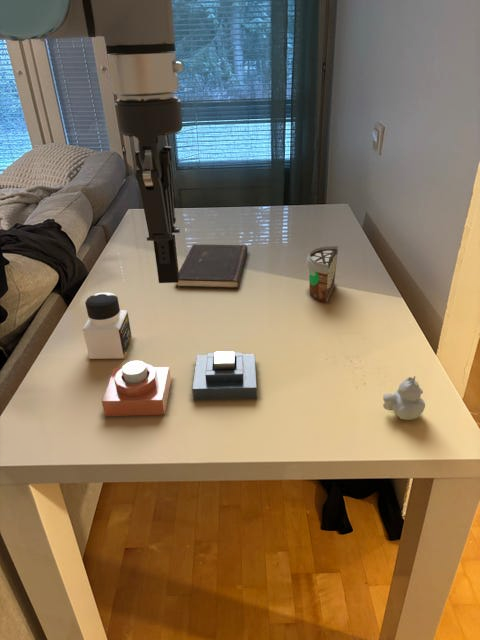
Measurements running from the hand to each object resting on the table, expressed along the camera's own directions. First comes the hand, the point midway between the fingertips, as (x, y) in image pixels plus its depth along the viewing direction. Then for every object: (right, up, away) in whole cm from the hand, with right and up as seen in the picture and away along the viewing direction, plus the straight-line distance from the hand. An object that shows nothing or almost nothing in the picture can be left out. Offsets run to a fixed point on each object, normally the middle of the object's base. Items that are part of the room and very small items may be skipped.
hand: (169, 280), depth 66 cm
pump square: (+7, -14, +17) cm, 23 cm away
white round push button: (-8, -15, +13) cm, 22 cm away
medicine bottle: (-16, -12, +29) cm, 35 cm away
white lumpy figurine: (+36, -21, +11) cm, 43 cm away
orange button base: (-8, -19, +16) cm, 26 cm away
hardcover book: (+3, +8, +61) cm, 61 cm away
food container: (+29, +1, +48) cm, 56 cm away
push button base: (+7, -17, +19) cm, 26 cm away
